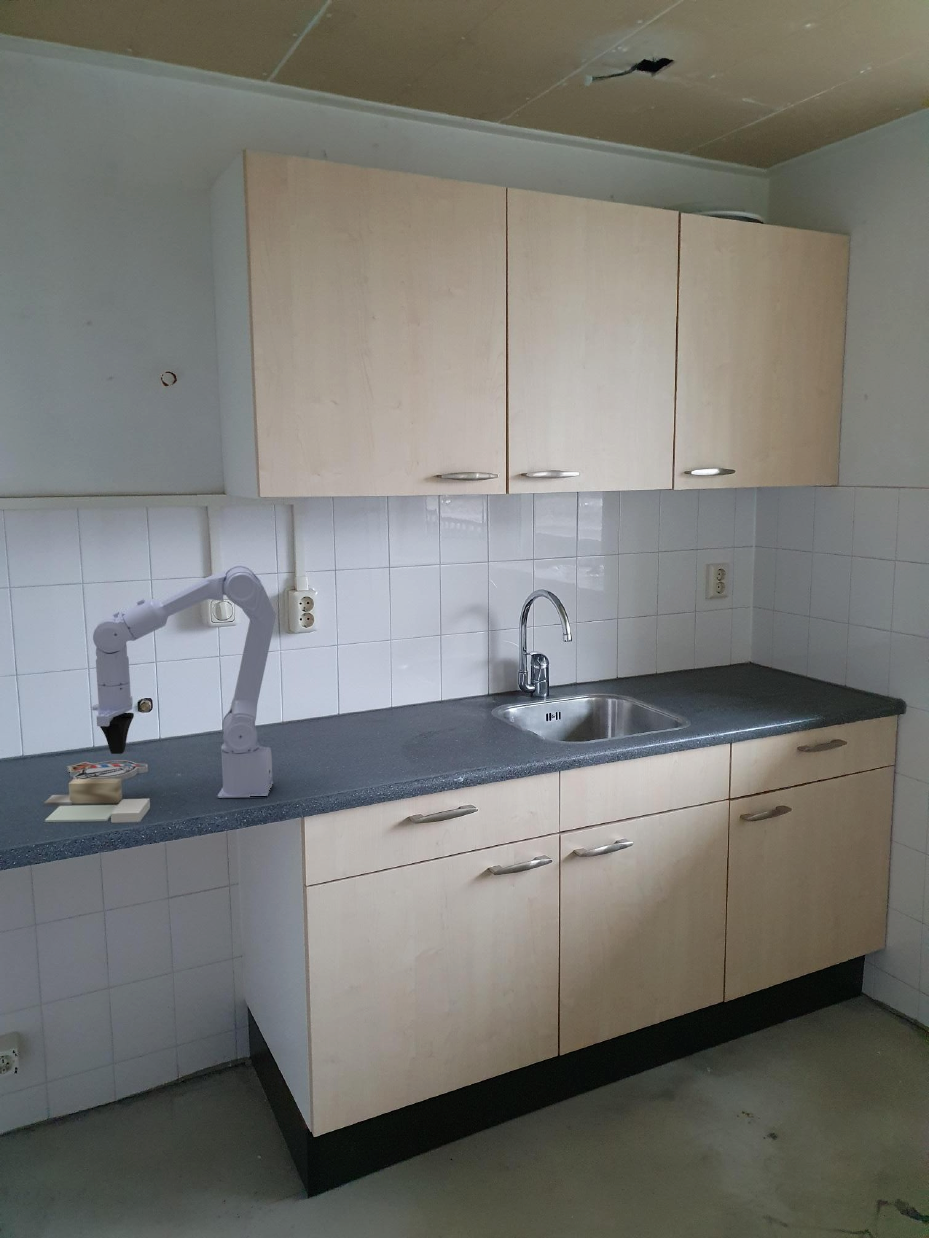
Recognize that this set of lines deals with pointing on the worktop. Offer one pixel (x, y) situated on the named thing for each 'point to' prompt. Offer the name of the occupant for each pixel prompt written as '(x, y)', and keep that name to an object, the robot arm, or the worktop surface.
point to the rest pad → (81, 813)
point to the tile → (130, 810)
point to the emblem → (106, 770)
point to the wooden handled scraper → (89, 792)
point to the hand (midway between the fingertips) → (117, 752)
